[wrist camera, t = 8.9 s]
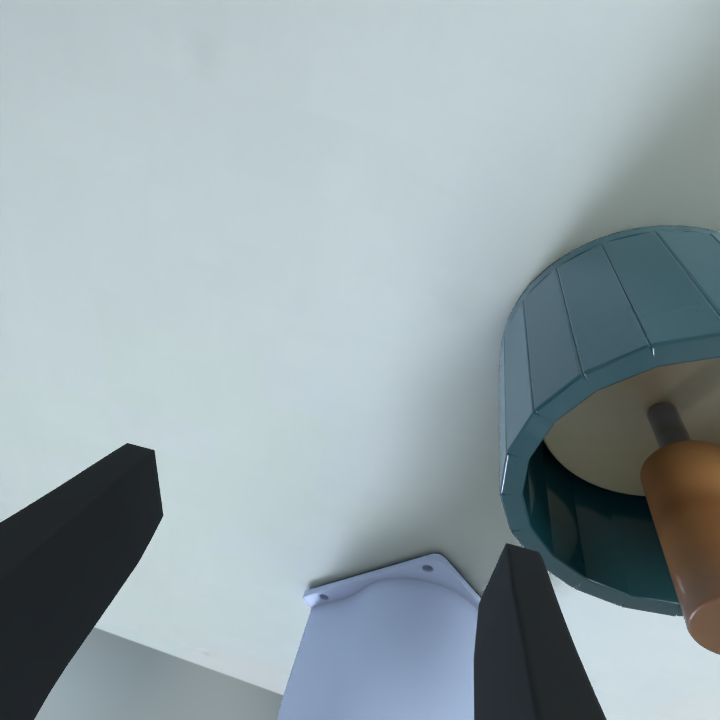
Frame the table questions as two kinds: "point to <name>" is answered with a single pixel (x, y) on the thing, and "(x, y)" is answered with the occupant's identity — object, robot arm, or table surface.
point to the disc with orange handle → (661, 470)
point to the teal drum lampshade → (582, 379)
